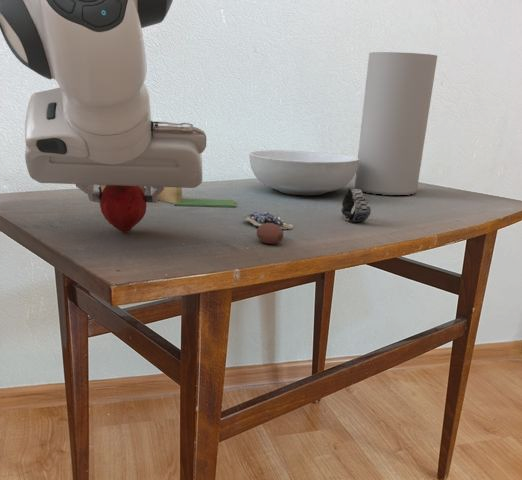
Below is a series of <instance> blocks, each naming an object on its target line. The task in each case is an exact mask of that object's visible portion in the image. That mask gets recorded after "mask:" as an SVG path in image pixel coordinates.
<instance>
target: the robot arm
mask: <svg viewBox="0 0 522 480" xmlns="http://www.w3.org/2000/svg"><path fill="white" fill-rule="evenodd" d="M173 2H174V0H0V31H1V34H2V36H3V39H4V41H5V43H6V45H7V46H8V48H9V49H10V51H11V53H12V54H13V56H14V57H15V58H16V59H17V60H18V61H19V62H20V63H21V64H22V65H23V66H25V67H26V68H28V69H30V70H31V71H33V72H34V73H36V74H38V75H39V76H41V77H43V78H45V79H46V80H47V79H48V80H50V81H51V80H55V81H56V82H57V85H58V86H59V87H56V88H52V89H47V90H42V91H38V92H34V93H32V94H31V95H30V97H29V100H28V103H27V104H28V105H27V109H26V113H25V122H24V141H25V150H24V159H25V165H26V168H27V173H28V175H29V177H30V178H31V179H32V180H34V181H36V182H37V183H39V184H57V185H58V184H60V185H75V187H76V188H78V189H79V190H81V192H83V193H85V194H86V195H87V196H88V200H89V202H96V201H100V198H101V195H102V188H101V185H118V186H145V194H144V196H145V202H146V203H150V204H151V203H152V204H154V203H155V204H157V201H158V200H157V195H159V194H160V193H161V192H162V191H163V190H164V187H179V188H182V189H183V188H185V189H186V188H188V189H195V188H197V187H198V186H200V185H201V184H202V183H203V154H202V153H204V151H205V149H206V147H207V135H206V132H205V131H204V130H202V129H201V128H199V127H196V126H194V124H193V123H190V122H181V123H179V122H178V123H176V122H175V123H174V122H168V121H155V120H154V121H153V120H152V113H151V103H150V100H151V99H150V94H149V91H148V88H147V85H146V83H145V81H146V77H147V65H148V64H147V55H146V45H145V41H144V40H145V39H144V34H143V29H145V28H148V27H151V26H155V25H157V24H161V23H162V22H163V21H164V20H165V18H166V17H167V15H168V13H169V11H170V9H171V7H172V3H173Z"/></svg>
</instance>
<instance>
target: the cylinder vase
mask: <svg viewBox="0 0 522 480" xmlns="http://www.w3.org/2000/svg"><path fill="white" fill-rule="evenodd" d="M437 61H438V55H436V54H430V53H418V52H417V53H416V52H399V51H398V52H396V51H395V52H394V51H376V52H375V51H374V52H372V51H371V52H369V53H368V61H367V70H366V79H365V85H364V86H365V87H364V97H363V106H362V116H361V124H360V133H359V140H358V141H359V142H358V151H357V158H359V164H358V168H357V171H356V173H355V176H354V177H355V178H354V189H360V190H361V191H362V193H365V192H366V194H369V193H372V194H371V195H376V194H382V195H381V196H385V195H408V196H411V195H410V194H412V195H414V194H416V193H417V191H418V185H419V180H420V173H421V166H422V160H423V153H424V146H425V142H426V141H425V140H426V134H427V127H428V121H429V114H430V107H431V101H432V93H433V88H434V81H435V74H436V68H437Z"/></svg>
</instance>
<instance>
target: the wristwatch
mask: <svg viewBox="0 0 522 480" xmlns="http://www.w3.org/2000/svg"><path fill="white" fill-rule="evenodd" d="M355 203H356V204H355ZM353 207H354V210H353ZM352 210H353V213H352ZM371 212H372V209H371V205H370V203H369V199H367V198H366V197H365V196H364V192H362V191H361V190H360V189H356V188H349V189H347V191H345V194H344V196H343V199H342V204H341V209H340V214H341V217H343V218H344V221H347V222H349V223H363V222H365V221H366V220H367V219H368V218H369V217H370V215H371Z"/></svg>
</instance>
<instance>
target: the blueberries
mask: <svg viewBox="0 0 522 480" xmlns="http://www.w3.org/2000/svg"><path fill="white" fill-rule="evenodd" d="M241 219H243V220H244V221H247V222H250V224H253V226H255V227H259V226H260V225H262V224H265V223H273V224H276V225H278V226H279V227H280V228H281V229H282V230H292V229H294V226H293V224H290V223H288V222H283V219H281V216H279V217H277V216H275V215H273V214H271V213H270V212H268V211H264V212H263V214H262V213H261V212H258V211H255V212H253V213H251V214H247V216H241Z"/></svg>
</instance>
